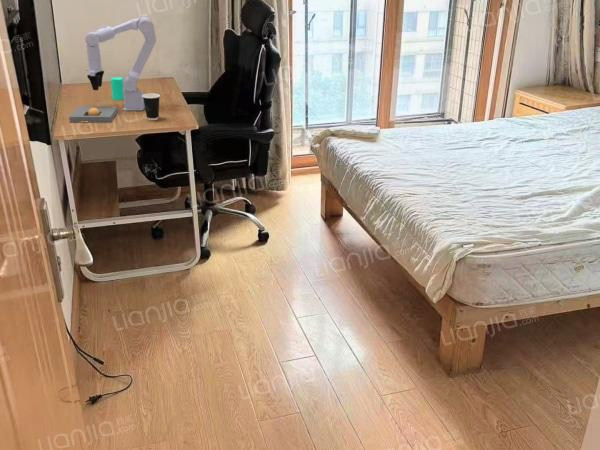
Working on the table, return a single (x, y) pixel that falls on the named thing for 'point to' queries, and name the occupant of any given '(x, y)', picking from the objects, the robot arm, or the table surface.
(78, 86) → the table surface
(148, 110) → the dixie cup
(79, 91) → the table surface
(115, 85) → the candle
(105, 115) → the plate
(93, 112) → the ball
